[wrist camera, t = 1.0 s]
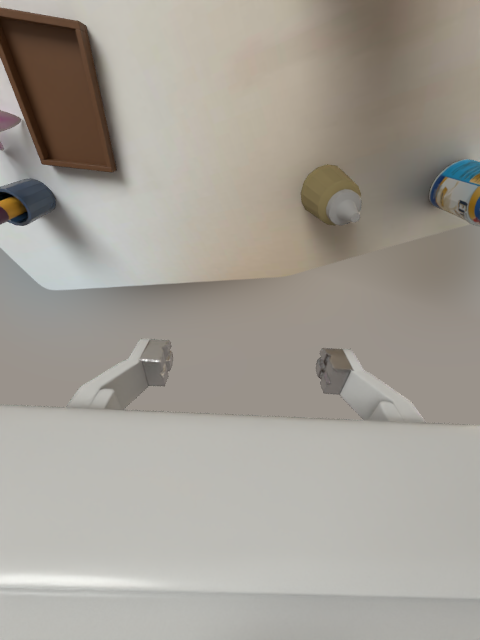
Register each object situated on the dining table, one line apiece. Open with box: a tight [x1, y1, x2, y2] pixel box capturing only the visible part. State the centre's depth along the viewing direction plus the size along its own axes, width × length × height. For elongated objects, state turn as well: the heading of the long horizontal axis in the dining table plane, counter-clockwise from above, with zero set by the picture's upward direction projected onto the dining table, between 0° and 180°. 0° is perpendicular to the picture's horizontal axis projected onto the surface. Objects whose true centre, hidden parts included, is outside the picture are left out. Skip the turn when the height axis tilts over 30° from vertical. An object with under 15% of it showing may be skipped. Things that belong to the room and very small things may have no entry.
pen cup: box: [0, 179, 56, 226], centre depth 41 cm, size 6×6×8 cm
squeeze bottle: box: [301, 164, 362, 225], centre depth 37 cm, size 8×8×18 cm
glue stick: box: [0, 196, 27, 224], centre depth 39 cm, size 3×3×12 cm
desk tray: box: [0, 8, 117, 172], centre depth 35 cm, size 16×11×2 cm
